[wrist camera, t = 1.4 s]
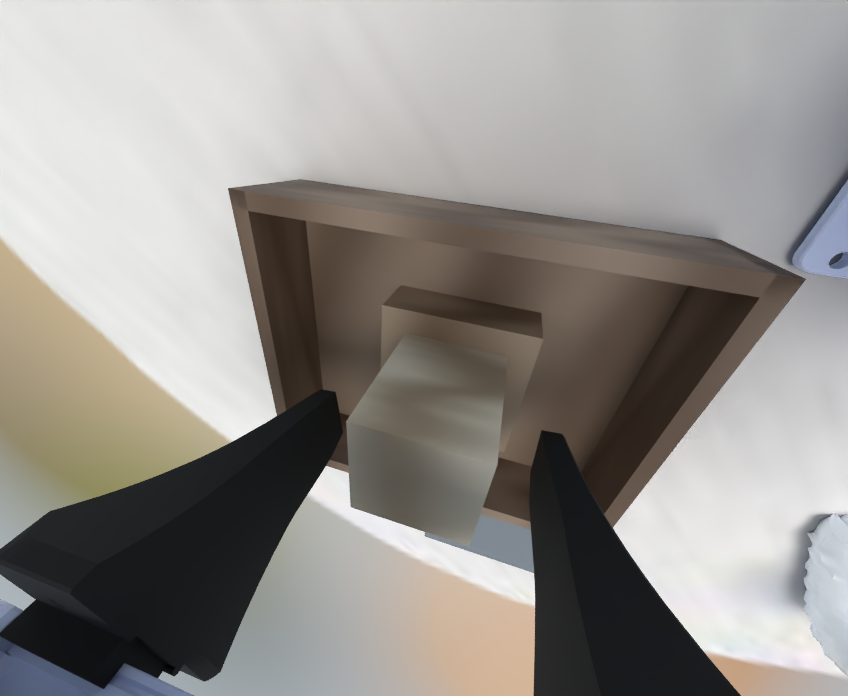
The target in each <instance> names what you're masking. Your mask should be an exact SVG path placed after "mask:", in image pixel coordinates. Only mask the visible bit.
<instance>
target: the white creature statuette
mask: <svg viewBox="0 0 848 696" xmlns="http://www.w3.org/2000/svg"><path fill="white" fill-rule="evenodd" d="M807 534H808V536H809V538H810V540H811V541H812V546H811V547H809V548H808V551H809V556H810V557H809V559H808V561H807V562H806V563H805V568H806V570H807V574H806V576H805V577H804V584H805V586H806V589H807V590H806V591H805V594H804V596H803V598H804V600H805V602H806V605H804V611H805V612H806V614H807V615H808V617H809V618H810V620H811V623H812V624H811V627H810V629H811V632H812V635H813V637H814V638H815V639H816V640H817V641H818V642H819V643H820V644H821V646H822V649H823V652H824V655H826V656H827V657H828V658H830V659H831V660H832V661H834V663H835V665H836V666H837V667H838V668H839V669H840V670H841V671H842V672H843V673H845V674H846V675H847V676H848V514H846V515H844V516H841V517H839V516H838V515H837V514H832V515H831V516H830V517H828V518H825V519H823V520H821V522H820V523H819V524H818V526H817V528H816V529H815V530H814V531H813V532H807Z"/></svg>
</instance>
